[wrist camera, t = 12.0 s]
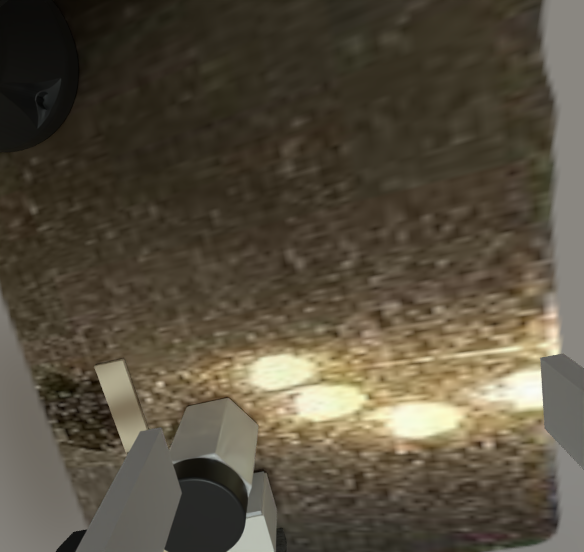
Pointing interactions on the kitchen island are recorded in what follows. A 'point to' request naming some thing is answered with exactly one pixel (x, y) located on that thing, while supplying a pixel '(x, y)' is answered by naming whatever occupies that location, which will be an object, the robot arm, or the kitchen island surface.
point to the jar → (212, 476)
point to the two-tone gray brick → (280, 541)
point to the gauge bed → (122, 401)
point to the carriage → (259, 518)
